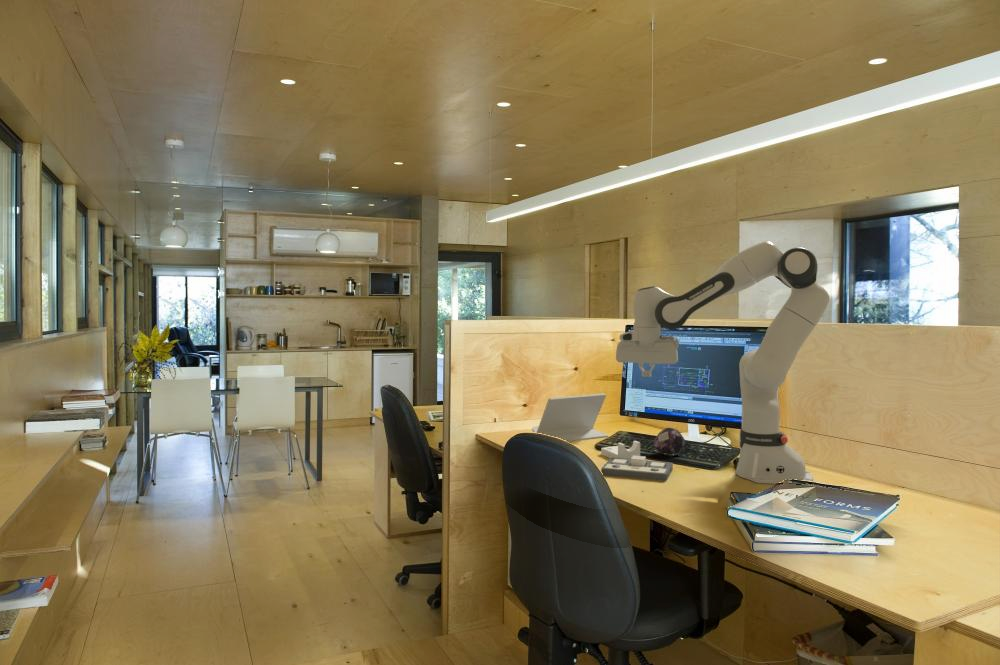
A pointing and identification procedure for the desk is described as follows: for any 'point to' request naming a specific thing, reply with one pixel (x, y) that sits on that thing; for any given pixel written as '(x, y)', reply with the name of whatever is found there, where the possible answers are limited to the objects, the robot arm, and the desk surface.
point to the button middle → (638, 461)
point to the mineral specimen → (669, 441)
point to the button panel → (637, 470)
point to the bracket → (622, 451)
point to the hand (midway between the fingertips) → (646, 376)
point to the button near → (657, 465)
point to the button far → (619, 462)
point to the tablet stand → (572, 417)
